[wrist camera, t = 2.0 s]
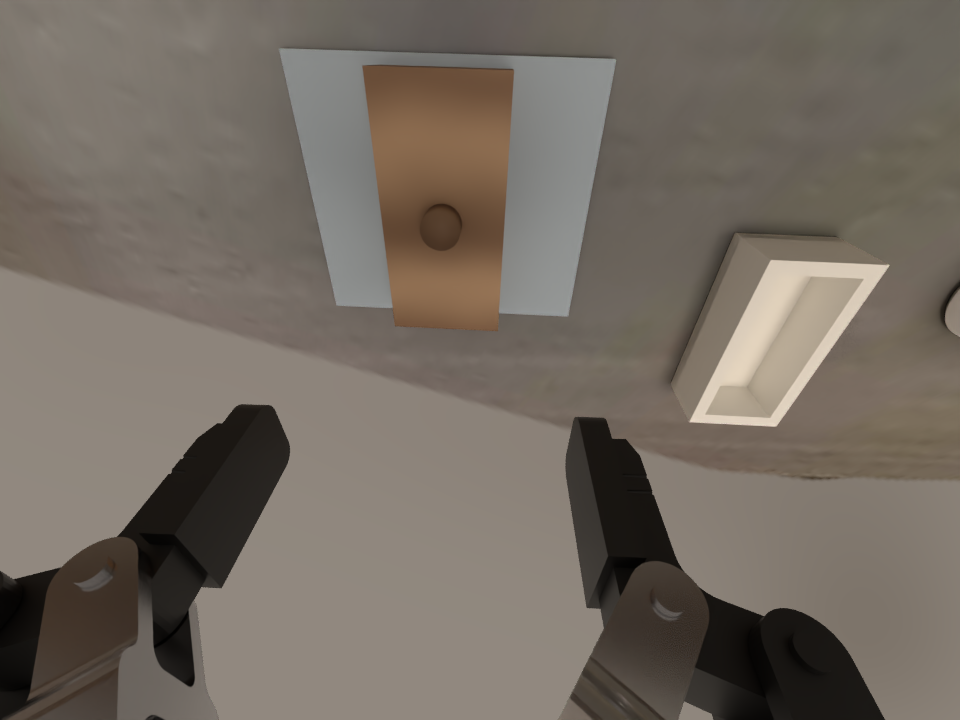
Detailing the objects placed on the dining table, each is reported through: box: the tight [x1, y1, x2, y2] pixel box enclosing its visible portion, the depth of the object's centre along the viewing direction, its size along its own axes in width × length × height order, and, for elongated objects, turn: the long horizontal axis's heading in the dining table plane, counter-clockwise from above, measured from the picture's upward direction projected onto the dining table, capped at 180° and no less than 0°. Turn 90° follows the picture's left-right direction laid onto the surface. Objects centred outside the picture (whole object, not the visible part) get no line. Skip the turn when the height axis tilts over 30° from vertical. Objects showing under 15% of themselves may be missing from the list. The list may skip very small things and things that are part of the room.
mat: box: [279, 48, 616, 316], centre depth 23 cm, size 14×16×1 cm
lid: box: [362, 65, 514, 331], centre depth 21 cm, size 13×6×4 cm, turn 178°
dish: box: [670, 233, 890, 427], centre depth 25 cm, size 12×6×4 cm, turn 179°
